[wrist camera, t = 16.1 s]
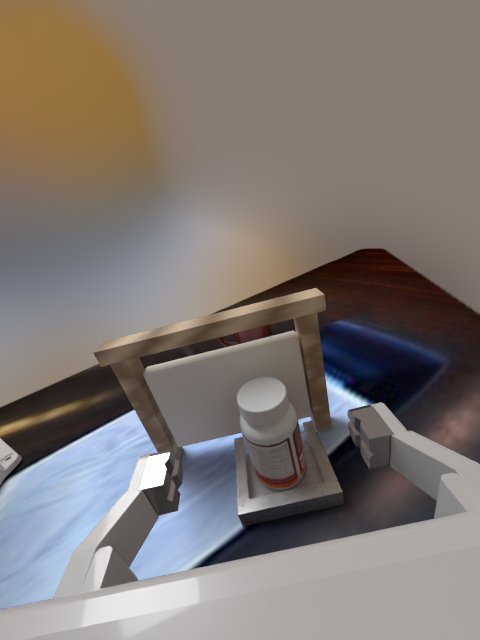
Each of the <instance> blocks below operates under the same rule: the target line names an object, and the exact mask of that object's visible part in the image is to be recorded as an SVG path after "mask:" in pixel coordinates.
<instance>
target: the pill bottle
mask: <svg viewBox="0 0 480 640" xmlns="http://www.w3.org/2000/svg"><path fill="white" fill-rule="evenodd" d="M237 403H238V406H239V410H240V413H241V415H240V427H241V431H242V434H243V438H244V441H245V444H246V447H247V450H248V453H249V455H250V458H251V461H252V464H253V467H254V470H255V472H256V475H257V477H258V478H259V480H260V481H261V482H262V483H263V484H264V485H265V486H267V487H269V488H271V489H275V490H285V489H289V488H291V487H293V486H295V485H296V484H297V483H298V482H299V481H300V480H301V479H302V477H303V475H304V473H305V469H306V459H305V454H304V449H303V444H302V438H301V433H300V429H299V424H298V418H297V414H296V411H295V408H294V407H293V405H292V404H291V402H290V401H289V399H288V395H287V391H286V387H285V385H284V384H283V383H282V382H281V381H280V380H278V379H275V378H272V377H260V378H255V379H253V380H250V381H249V382H247V383H245V384H244V385H243V386H242V387H241V388H240V390H239V392H238V394H237Z"/></svg>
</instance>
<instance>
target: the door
mask: <svg viewBox="0 0 480 640" xmlns="http://www.w3.org/2000/svg"><path fill="white" fill-rule="evenodd" d="M143 376H144V378H145V380H146V382H147V384H148V386H149V388H150V390H151V392H152V394H153V396H154V398H155V401H156V403H157V405H158V407H159V409H160V411H161V413H162V415H163V417H164V419H165V421H166V423H167V425H168V427H169V429H170V431H171V433H172V435H173V437H174V439H175V441H176V443H177V445H178V447H182V446H187V445H191V444H195V443H199V442H204V441H208V440H212V439H216V438H221V437H225V436H229V435H233V434H238V433H242V431H241V427H240V415H241V413H240V410H239V406H238V403H237V394H238V392H239V390H240V388H241V387H242V386H243V385H244V384H245V383H247V382H249V381H250V380H253V379H255V378H260V377H272V378H275V379H278V380H280V381H281V382H282V383H283V384H284V385H285V387H286V391H287V395H288V399H289V401H290V402H291V404H292V405H293V407H294V408H295V411H296V414H297V418H298V419H302V418H306V417H310V416H311V411H310V405H309V400H308V394H307V388H306V382H305V376H304V370H303V364H302V358H301V353H300V347H299V341H298V336H297V335H296V333H295V331H290V332H286V333H282V334H278V335H274V336H270V337H266V338H262V339H258V340H254V341H250V342H246V343H242V344H238V345H234V346H230V347H226V348H222V349H218V350H214V351H210V352H206V353H202V354H198V355H194V356H189V357H185V358H181V359H177V360H173V361H169V362H165V363H161V364H157V365H153V366H149V367H147V368H146V370H145V372H144V374H143Z"/></svg>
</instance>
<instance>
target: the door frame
mask: <svg viewBox="0 0 480 640" xmlns="http://www.w3.org/2000/svg"><path fill="white" fill-rule="evenodd" d="M325 310H326V305H325V296H324V294H323V293H322V292H321V291H319V290H318V289H317V288H314V289H310V290H306V291H303V292H299V293H295V294H291V295H287V296H283V297H279V298H275V299H271V300H267V301H263V302H259V303H255V304H251V305H247V306H243V307H240V308H236V309H232V310H228V311H224V312H220V313H216V314H212V315H208V316H204V317H200V318H196V319H192V320H188V321H184V322H181V323H177V324H173V325H169V326H165V327H161V328H157V329H153V330H149V331H145V332H141V333H137V334H133V335H129V336H126V337H122V338H118V339H114V340H110V341H106V342H103V343H102V344H101V345H100V346H99V347H98V348H97V349H96V351H95V352H94V355H95V357H96V358H97V360H98V362H99V364H100V365H101V367H102V366H106V365H111V367H112V369H113V371H114V373H115V375H116V376H117V378H118V380H119V382H120V384H121V386H122V387H123V389H124V391H125V393H126V395H127V397H128V398H129V400H130V402H131V404H132V406H133V408H134V409H135V411H136V413H137V415H138V417H139V419H140V420H141V422H142V424H143V426H144V428H145V430H146V431H147V433H148V435H149V437H150V439H151V441H152V442H153V444H154V446H155V448H156V450H157V452H158V453H159V452H164V451H169V450H174V452H175V453H176V458H175V459H176V460H178V461H181V455H182V449H183V448H182V447H178V445H177V443H176V441H175V439H174V437H173V435H172V433H171V431H170V429H169V427H168V425H167V423H166V421H165V419H164V417H163V415H162V413H161V411H160V409H159V407H158V405H157V403H156V401H155V398H154V396H153V394H152V392H151V390H150V388H149V386H148V384H147V382H146V380H145V378H144V376H143V374H144V372H145V369H144V367H143V365H142V363H141V361H140V359H139V357H142V356H146V355H150V354H154V353H158V352H162V351H165V350H169V349H173V348H177V347H181V346H185V345H189V344H193V343H197V342H201V341H205V340H209V339H213V338H217V337H221V336H225V335H229V334H233V333H237V332H241V331H245V330H249V329H253V328H257V327H261V326H265V325H269V324H273V323H277V322H281V321H285V320H289V319H293V318H294V322H295V328H296V334H297V336H298V341H299V347H300V353H301V358H302V364H303V370H304V376H305V382H306V388H307V394H308V400H309V405H310V411H311V419H312V422H313V424H314V426H315V429H316V431H317V432H318V431H322V430H327V429H331V428H332V427H331V419H330V411H329V403H328V396H327V388H326V380H325V372H324V365H323V357H322V349H321V341H320V334H319V326H318V318H317V312H321V311H325Z"/></svg>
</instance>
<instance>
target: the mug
mask: <svg viewBox="0 0 480 640" xmlns="http://www.w3.org/2000/svg"><path fill="white" fill-rule="evenodd" d="M234 335H235V338H236V342H228V341H226V340H225V339H224V338H223V337H222V336H221V337H217V340H218V341H219V342H220V343H221V344H222V345H223V346H225V347H230V346H234V345H238V344H242V343H246V342H250V341H254V340H258V339H262V338H266V337H270V336H272V332H271V329H270V324H269V325H265V326H261V327H257V328H253V329H249V330H245V331H241V332H237V333H234Z"/></svg>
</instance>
